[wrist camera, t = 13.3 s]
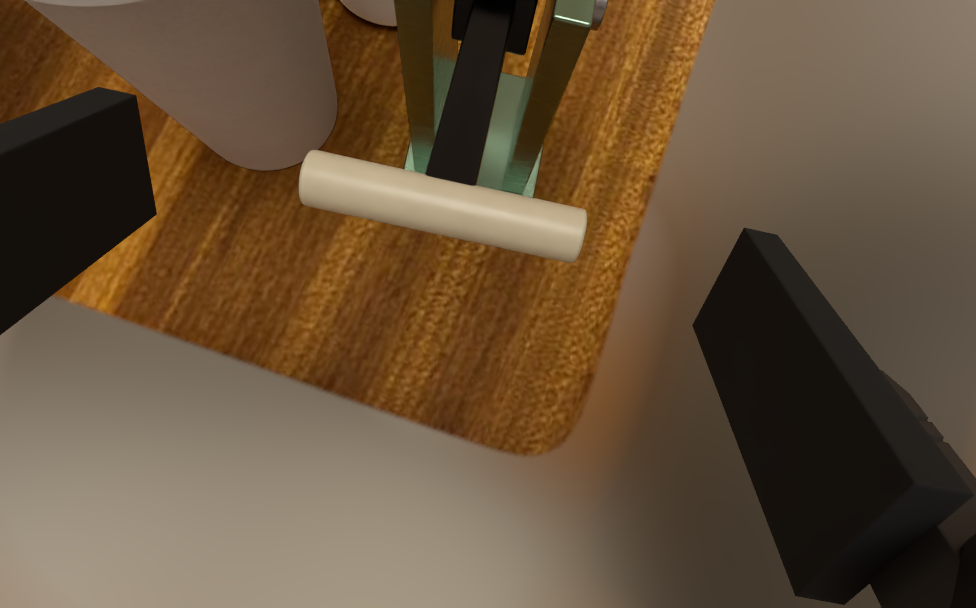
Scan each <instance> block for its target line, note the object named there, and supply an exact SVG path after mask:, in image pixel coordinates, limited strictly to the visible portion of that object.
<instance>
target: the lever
mask: <svg viewBox="0 0 976 608" xmlns="http://www.w3.org/2000/svg"><path fill="white" fill-rule="evenodd" d="M537 2H538V0H454V8H453V20H452V31H451V36H452V39H454V40H458V41H462V42H461V46H460V50H459V53H458V57H457V60H456V64H455V68H454V71H453V75H452V79H451V82H450V86H449V90H448V93H447V97H446V100H445V104H444V108H443V111H442V115H441V119H440V122H439V126H438V129H437V133H436V137H435V140H434V144H433V148H432V151H431V155H430V158H429V162H428V166H427V169H426V173H425V174H423V173H418V172H414V171H409V170H405V169H400V168H396V167H391V166H387V165H382V164H378V163H373V162H369V161H364V160H360V159H355V158H351V157H346V156H341V155H337V154H332V153H328V152H323V151H319V150H311V151H309V152H308V153H307V155H306V157H305V159H304V161H303V164H302V167H301V171H300V176H299V197H300V200H301V203H302V204H304V205H305V206H309V207H313V208H318V209H322V210H327V211H332V212H336V213H341V214H346V215H350V216H355V217H360V218H364V219H369V220H373V221H378V222H383V223H387V224H392V225H397V226H401V227H406V228H411V229H415V230H420V231H424V232H429V233H434V234H438V235H443V236H448V237H452V238H457V239H461V240H466V241H471V242H475V243H480V244H485V245H489V246H494V247H499V248H503V249H508V250H512V251H517V252H522V253H526V254H531V255H536V256H540V257H545V258H550V259H554V260H559V261H563V262H568V263H572V262H574V261H575V260H576V259H577V257H578V255H579V253H580V250H581V247H582V244H583V241H584V237H585V232H586V226H587V213H586V211H585V210H584V209H581V208H577V207H572V206H568V205H563V204H559V203H554V202H549V201H545V200H540V199H536V198H531V197H527V196H522V195H518V194H513V193H509V192H504V191H500V190H495V189H491V188H486V187H482V186H477V181H478V177H479V172H480V167H481V163H482V158H483V154H484V149H485V145H486V140H487V136H488V131H489V126H490V122H491V117H492V113H493V108H494V104H495V99H496V95H497V90H498V85H499V81H500V76H501V72H502V67H503V63H504V58H505V53H506V52H510V53H514V54H518V55H524V54H525V53H526V49H527V45H528V40H529V36H530V32H531V28H532V23H533V19H534V15H535V11H536V6H537Z"/></svg>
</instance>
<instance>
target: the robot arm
mask: <svg viewBox="0 0 976 608" xmlns="http://www.w3.org/2000/svg"><path fill="white" fill-rule="evenodd" d="M156 214H157V212H156V207H155V201H154V195H153V189H152V184H151V178H150V172H149V167H148V161H147V155H146V149H145V144H144V138H143V132H142V126H141V121H140V115H139V109H138V104H137V98H136V95H133V94H128V93H123V92H119V91H114V90H110V89H105V88H101V87H97V88H94V89H92V90H89V91H87V92H84V93H81V94H79V95H76V96H73V97H71V98H68V99H66V100H63V101H60V102H58V103H55V104H52V105H50V106H47V107H44V108H42V109H39V110H37V111H34V112H31V113H29V114H26V115H23V116H21V117H18V118H16V119H13V120H10V121H8V122H5V123H2V124H0V335H1V334H2V333H4V332H5V331H6V330H8V329H9V328H10V327H11V326H13V325H14V324H15V323H17V322H18V321H19V320H20V319H22V318H23V317H24V316H26V315H27V314H28V313H30V312H31V311H32V310H33V309H35V308H36V307H37V306H39V305H40V304H41V303H42V302H44V301H45V300H46V299H47V298H49V297H50V296H52V295H53V294H54V293H55V292H57V291H58V290H59V289H61V288H62V287H63V286H65V285H66V284H67V283H68V282H70V281H71V280H72V279H74V278H75V277H76V276H77V275H79V274H80V273H81V272H83V271H84V270H85V269H87V268H88V267H89V266H90V265H92V264H93V263H94V262H96V261H97V260H98V259H99V258H101V257H102V256H103V255H105V254H106V253H107V252H109V251H110V250H111V249H112V248H114V247H115V246H116V245H118V244H119V243H120V242H121V241H123V240H124V239H125V238H127V237H128V236H129V235H131V234H132V233H133V232H134V231H136V230H137V229H138V228H140V227H141V226H142V225H144V224H145V223H146V222H147V221H149V220H150V219H151V218H153V217H154V216H155V215H156ZM693 328H694V331H695V333H696V335H697V338H698V341H699V344H700V346H701V349H702V352H703V354H704V357H705V360H706V362H707V365H708V367H709V370H710V373H711V375H712V378H713V381H714V383H715V386H716V388H717V391H718V394H719V396H720V399H721V401H722V404H723V407H724V409H725V412H726V415H727V417H728V419H729V423H730V425H731V428H732V431H733V433H734V435H735V438H736V441H737V444H738V446H739V449H740V451H741V454H742V457H743V459H744V462H745V465H746V467H747V470H748V473H749V475H750V478H751V480H752V483H753V486H754V488H755V491H756V494H757V496H758V499H759V502H760V504H761V507H762V509H763V512H764V515H765V517H766V520H767V523H768V525H769V528H770V530H771V533H772V536H773V538H774V541H775V543H776V546H777V549H778V551H779V554H780V557H781V559H782V562H783V565H784V567H785V570H786V572H787V575H788V578H789V580H790V583H791V586H792V588H793V591H794V594H795V596H799V597H804V598H810V599H816V600H820V601H826V602H832V603H837V604H842V605H845V604H846V603H847V602H848V601H849V600H850V599H852V598H853V597H854V596H855V595H856V594H858V593H859V592H860V591H861V590H862V589H864V588H865V587H866V586H867V585H868V584H870V585H871V587H872V589H873V591H874V593H875V595H876V597H877V599H878V601H879V603H880V605H881V608H976V478H975V477H974V476H973V474H972V473H971V472H970V470H969V469H968V468H967V467H966V465H965V464H964V463H963V461H962V460H961V459H960V458H959V456H958V455H957V454H956V453H955V451H954V450H953V449H952V448H951V446H950V445H949V444H948V443H946V442H943V438H944V437H943V436H942V435H941V434H940V432H939V431H938V430H937V429H936V427H935V426H934V424H933V423H932V422H928V421H927V419H928V417H927V416H926V414H925V413H924V412H923V411H922V409H921V408H920V407H919V405H918V404H917V403H916V402H915V400H914V399H913V398H912V397H911V395H910V394H909V393H908V392H907V391H906V390H904V389H903V388H902V387H901V386H900V385H899V384H897V383H896V382H895V381H894V380H893V379H891V378H890V377H889V376H888V375H887V374H885V373H884V372H883V371H881V370H879V368H878V367H877V366H876V364H875V363H874V362H873V360H872V359H871V358H870V356H869V355H868V354H867V352H866V351H865V350H864V349H863V347H862V346H861V345H860V343H859V342H858V341H857V339H856V338H855V337H854V335H853V334H852V333H851V331H850V330H849V329H848V327H847V326H846V325H845V324H844V322H843V321H842V319H841V318H840V317H839V316H838V314H837V313H836V312H835V310H834V309H833V308H832V306H831V305H830V304H829V302H828V301H827V300H826V298H825V297H824V296H823V295H822V293H821V292H820V291H819V289H818V288H817V287H816V285H815V284H814V283H813V281H812V280H811V279H810V277H809V276H808V275H807V273H806V272H805V271H804V269H803V268H802V267H801V265H800V264H799V263H798V261H797V260H796V259H795V258H794V256H793V255H792V254H791V252H790V251H789V250H788V248H787V247H786V246H785V244H784V243H783V242H782V240H781V239H780V238H779V237H778V235H775V234H770V233H766V232H761V231H756V230H752V229H748V228H744V229H743V231H742V233H741V234H740V236H739V238H738V240H737V242H736V244H735V246H734V248H733V250H732V252H731V253H730V255H729V257H728V259H727V261H726V263H725V265H724V267H723V269H722V270H721V272H720V274H719V276H718V278H717V280H716V282H715V284H714V285H713V287H712V289H711V291H710V293H709V295H708V297H707V299H706V301H705V303H704V304H703V306H702V308H701V310H700V312H699V314H698V316H697V318H696V319H695V321H694V323H693Z"/></svg>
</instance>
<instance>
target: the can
mask: <svg viewBox="0 0 976 608" xmlns="http://www.w3.org/2000/svg"><path fill="white" fill-rule="evenodd" d="M340 1H341V2H342V3H343V5H344V6H346V7H347V8H348V9H349V10H350V11H351V12H353V13H354V14H356V15H357V16H359V17H361V18H363V19H365V20H367V21H370V22H373V23H376V24H380V25H386V26H397V24H396V15H395V7H394V0H340Z"/></svg>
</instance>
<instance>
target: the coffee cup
mask: <svg viewBox="0 0 976 608" xmlns="http://www.w3.org/2000/svg"><path fill="white" fill-rule="evenodd" d="M25 1H26V2H27V3H28V4H30V5H31V6H32V7H34V8H35V9H36V10H37V11H39V12H40V13H41V14H43V15H44V16H45V17H46V18H48V19H49V20H50V21H51V22H53V23H54V24H55V25H56V26H58V27H59V28H60V29H62V30H63V31H64V32H65V33H67V34H68V35H69V36H70V37H72V38H73V39H74V40H75V41H77V42H78V43H79V44H81V45H82V46H83V47H84V48H86V49H87V50H88V51H89V52H91V53H92V54H93V55H94V56H96V57H97V58H98V59H99V60H101V61H102V62H103V63H104V64H106V65H107V66H108V67H109V68H111V69H112V70H113V71H114V72H116V73H117V74H118V75H119V76H121V77H122V78H123V79H124V80H126V81H127V82H128V83H129V84H131V85H132V86H133V87H134V88H136V89H137V90H138V91H139V92H141V93H142V94H143V95H144V96H146V97H147V98H148V99H150V100H151V101H152V102H153V103H155V104H156V105H157V106H158V107H160V108H161V109H162V110H163V111H165V112H166V113H167V114H168V115H169V116H171V117H172V118H173V119H174V120H176V121H177V122H178V123H179V124H181V125H182V126H183V127H184V128H186V129H187V130H188V131H189V132H191V133H192V134H193V135H194V136H196V137H197V138H198V139H199V140H201V141H202V142H203V143H204V144H206V145H207V146H208V147H209V148H211V149H212V150H213V151H214V152H216V153H217V154H218V155H220V156H221V157H222V158H224V159H225V160H227V161H229V162H231V163H233V164H235V165H238V166H240V167H243V168H247V169H252V170H261V171H270V170H278V169H283V168H287V167H290V166H293V165H296V164H298V163H300V162H302V161H304V159H305V157H306V155H307V153H308V152H309V151H311V150H318V149H319V148H320V147H321V146H322V145H323V144H324V143H325V141H326V140H327V139H328V137H329V135H330V133H331V132H332V129H333V127H334V124H335V121H336V117H337V109H338V101H337V93H336V88H335V83H334V78H333V72H332V67H331V62H330V57H329V52H328V47H327V42H326V36H325V31H324V26H323V21H322V16H321V10H320V5H319V0H25Z"/></svg>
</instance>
